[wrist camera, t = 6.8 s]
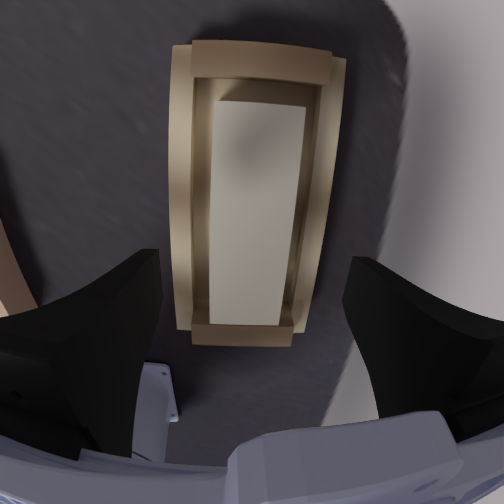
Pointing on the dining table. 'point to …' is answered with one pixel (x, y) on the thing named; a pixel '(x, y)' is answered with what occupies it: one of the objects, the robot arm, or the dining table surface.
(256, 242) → the clay bar
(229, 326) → the wooden tray
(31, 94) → the dining table surface
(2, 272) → the fired bar
